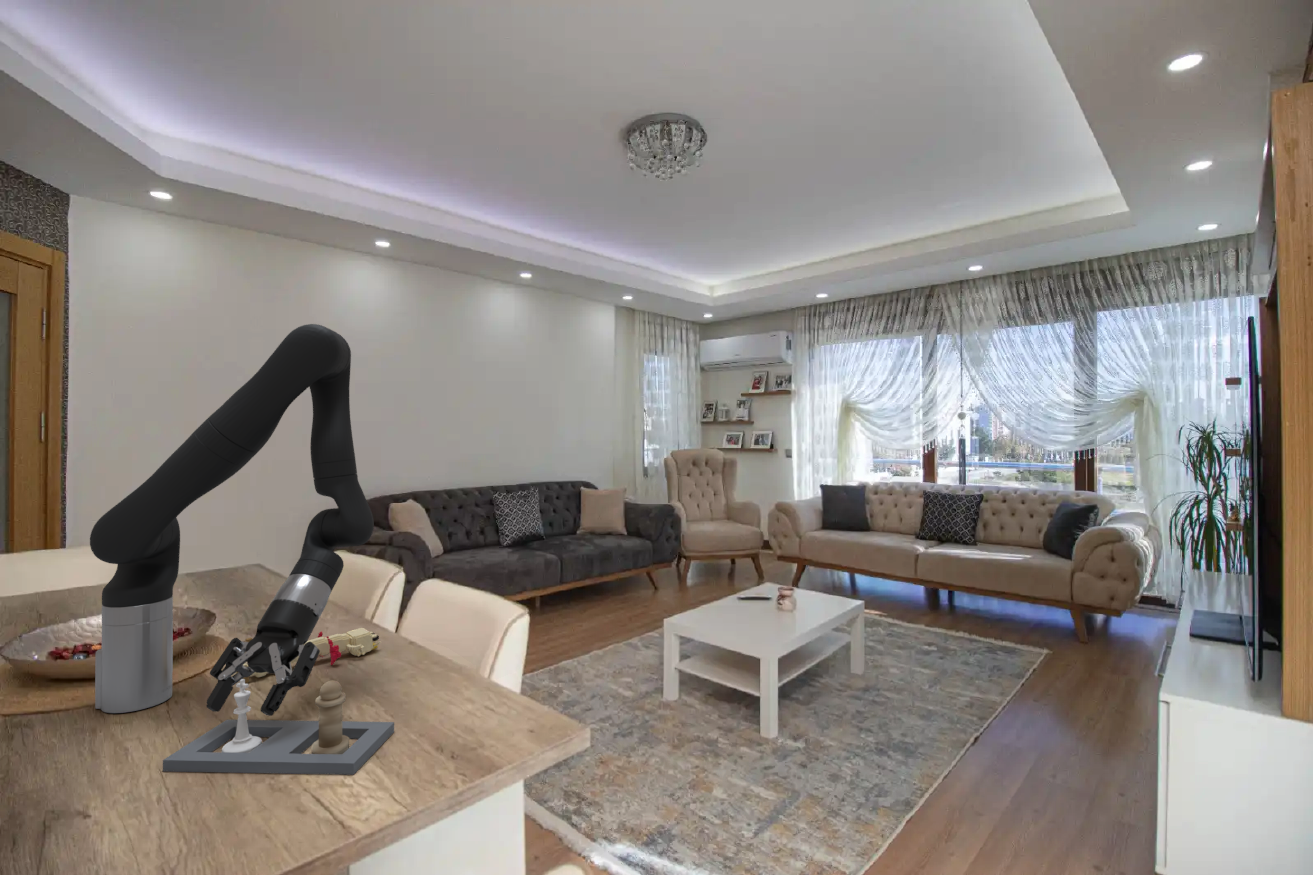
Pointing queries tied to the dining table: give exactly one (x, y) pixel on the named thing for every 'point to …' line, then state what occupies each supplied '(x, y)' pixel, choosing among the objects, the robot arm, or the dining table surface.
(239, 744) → the chess piece
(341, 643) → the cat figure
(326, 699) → the pawn
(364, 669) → the dining table surface
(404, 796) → the dining table surface
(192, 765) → the grey chess piece holder
